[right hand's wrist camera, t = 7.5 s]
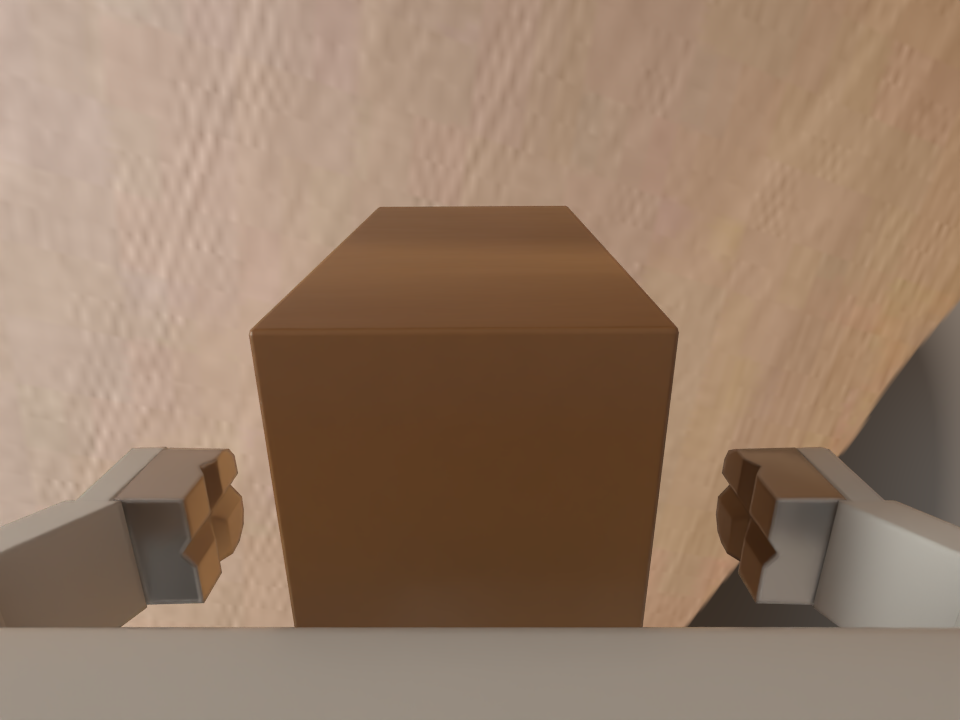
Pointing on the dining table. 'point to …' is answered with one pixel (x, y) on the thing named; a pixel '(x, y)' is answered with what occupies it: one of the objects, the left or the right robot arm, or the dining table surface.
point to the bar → (466, 424)
